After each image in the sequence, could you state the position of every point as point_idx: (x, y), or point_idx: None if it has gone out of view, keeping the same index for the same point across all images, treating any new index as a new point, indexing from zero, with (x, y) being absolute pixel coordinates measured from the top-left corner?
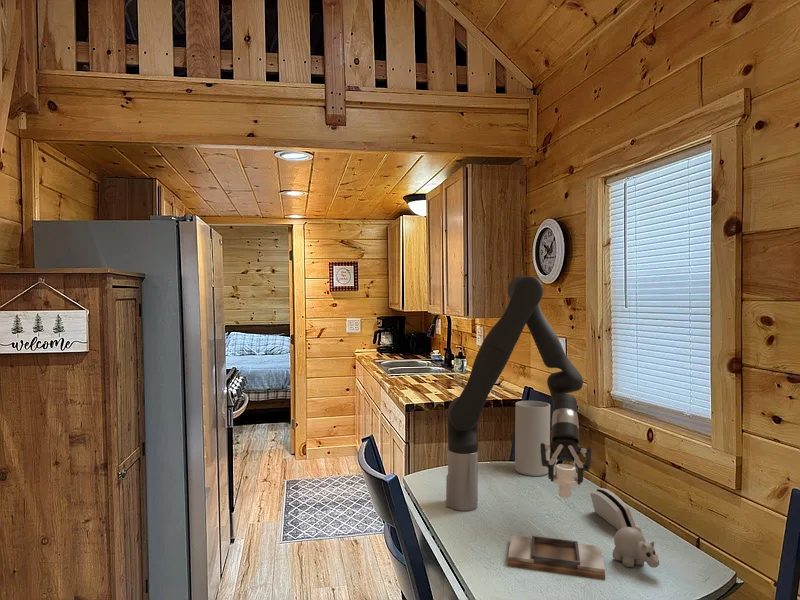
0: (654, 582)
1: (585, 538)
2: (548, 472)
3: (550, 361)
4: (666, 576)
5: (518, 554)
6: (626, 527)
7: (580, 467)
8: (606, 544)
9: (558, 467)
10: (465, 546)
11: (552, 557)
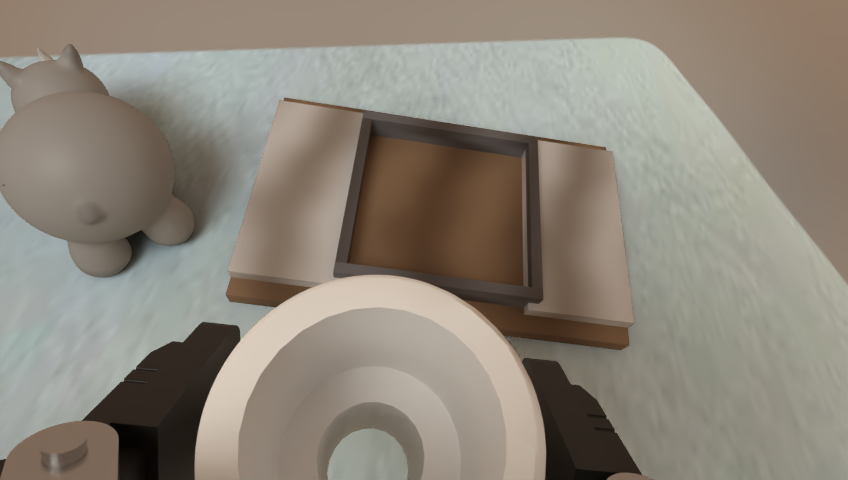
0: None
1: None
2: (608, 420)
3: None
4: None
5: (580, 166)
6: (68, 132)
7: (92, 429)
8: None
9: (503, 346)
10: (773, 268)
11: (461, 131)
